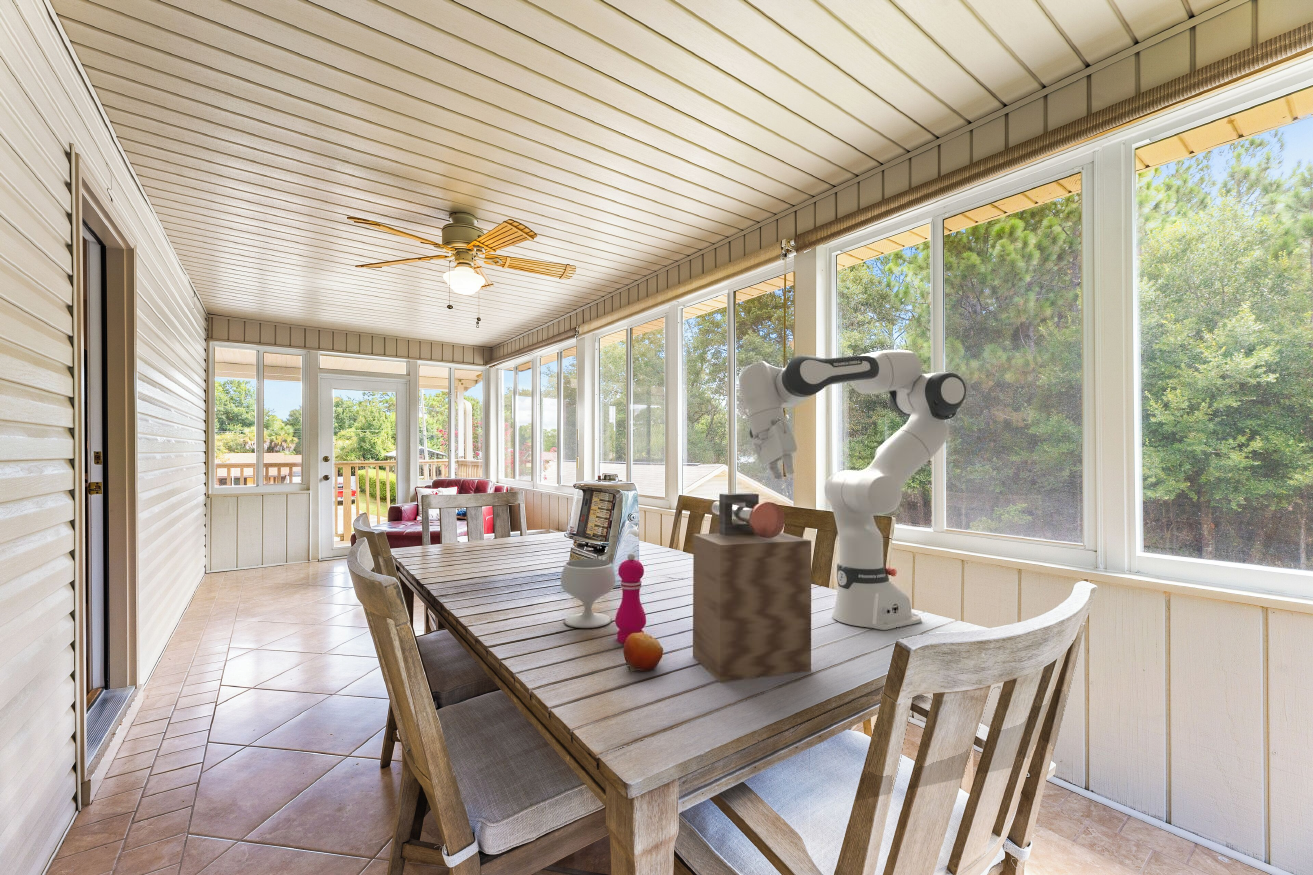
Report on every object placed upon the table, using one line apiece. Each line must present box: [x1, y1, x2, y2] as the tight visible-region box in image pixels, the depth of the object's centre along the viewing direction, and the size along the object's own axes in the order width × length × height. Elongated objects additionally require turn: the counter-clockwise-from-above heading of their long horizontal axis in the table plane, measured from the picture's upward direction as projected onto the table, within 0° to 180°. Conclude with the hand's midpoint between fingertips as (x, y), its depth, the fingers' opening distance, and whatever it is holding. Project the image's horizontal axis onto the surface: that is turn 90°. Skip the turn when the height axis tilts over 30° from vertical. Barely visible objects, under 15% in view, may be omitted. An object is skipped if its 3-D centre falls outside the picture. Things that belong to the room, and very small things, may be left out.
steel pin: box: [711, 500, 786, 538], centre depth 121 cm, size 7×25×7 cm, turn 18°
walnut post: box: [692, 492, 812, 683], centre depth 116 cm, size 20×14×35 cm
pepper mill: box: [614, 552, 647, 644], centre depth 130 cm, size 7×7×20 cm
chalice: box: [560, 558, 617, 629], centre depth 143 cm, size 14×14×15 cm
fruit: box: [622, 632, 664, 675], centre depth 113 cm, size 8×8×8 cm
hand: (784, 477), depth 139 cm, fingers open, 8 cm apart
